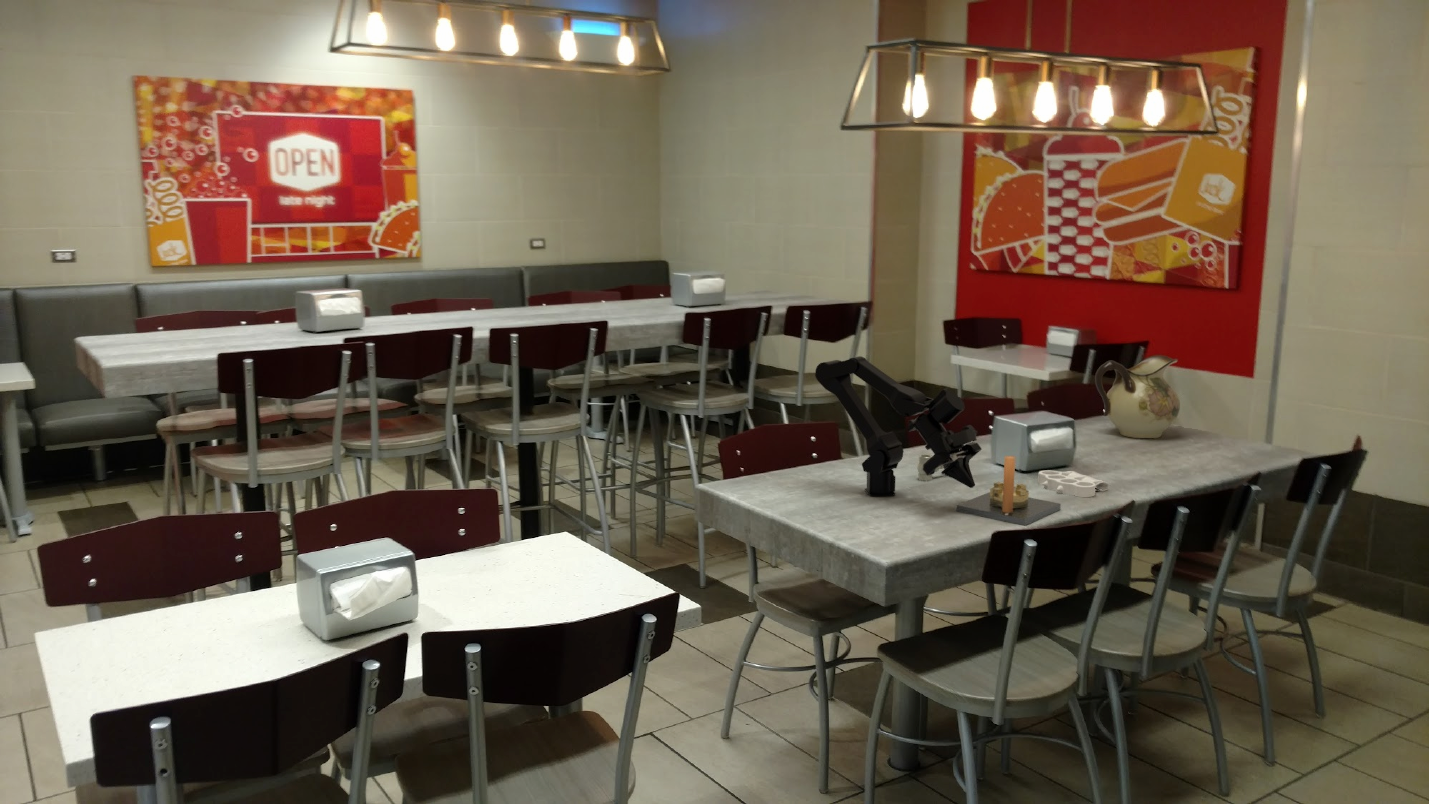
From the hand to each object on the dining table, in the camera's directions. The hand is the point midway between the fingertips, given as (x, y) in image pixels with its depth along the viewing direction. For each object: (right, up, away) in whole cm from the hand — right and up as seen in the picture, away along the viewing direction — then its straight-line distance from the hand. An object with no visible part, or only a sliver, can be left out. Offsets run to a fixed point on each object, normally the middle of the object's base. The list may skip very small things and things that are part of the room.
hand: (973, 486), depth 261 cm
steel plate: (+9, -6, +3) cm, 11 cm away
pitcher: (+74, +10, +86) cm, 114 cm away
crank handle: (+9, -5, 0) cm, 10 cm away
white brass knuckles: (+31, -3, +23) cm, 39 cm away
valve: (-2, 0, +35) cm, 35 cm away
